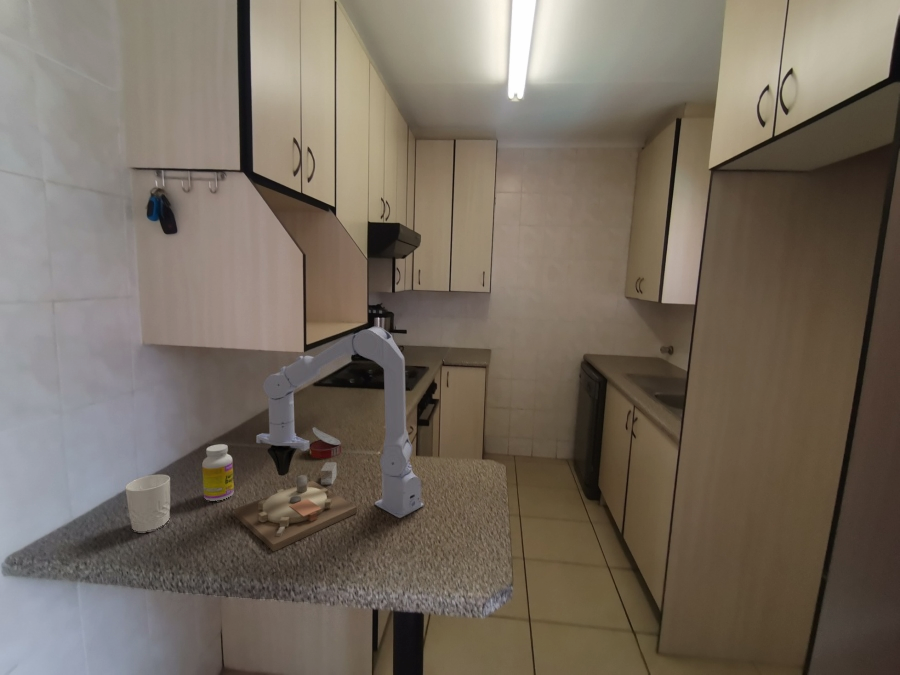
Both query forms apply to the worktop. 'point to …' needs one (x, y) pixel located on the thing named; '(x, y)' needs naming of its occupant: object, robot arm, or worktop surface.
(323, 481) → the link block
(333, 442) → the canned food
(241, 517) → the base board
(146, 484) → the white cup
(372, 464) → the worktop surface
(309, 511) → the sprocket wheel
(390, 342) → the robot arm
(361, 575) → the worktop surface
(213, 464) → the supplement bottle
